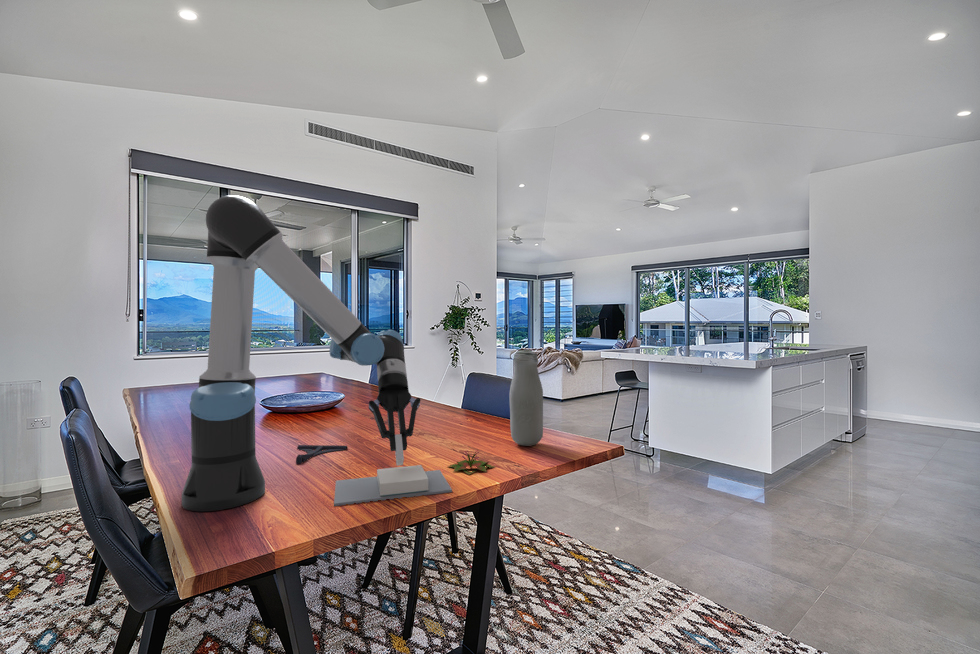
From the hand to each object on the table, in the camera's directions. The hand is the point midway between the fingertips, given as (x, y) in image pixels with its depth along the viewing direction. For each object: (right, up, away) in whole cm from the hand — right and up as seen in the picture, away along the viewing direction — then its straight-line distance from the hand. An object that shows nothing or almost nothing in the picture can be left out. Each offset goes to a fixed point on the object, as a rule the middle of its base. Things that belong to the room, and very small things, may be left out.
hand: (400, 462), depth 104 cm
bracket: (-29, -6, +23) cm, 37 cm away
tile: (0, -3, +2) cm, 3 cm away
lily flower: (+16, -5, +11) cm, 20 cm away
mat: (-1, -5, -2) cm, 6 cm away
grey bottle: (+31, -4, +32) cm, 45 cm away
